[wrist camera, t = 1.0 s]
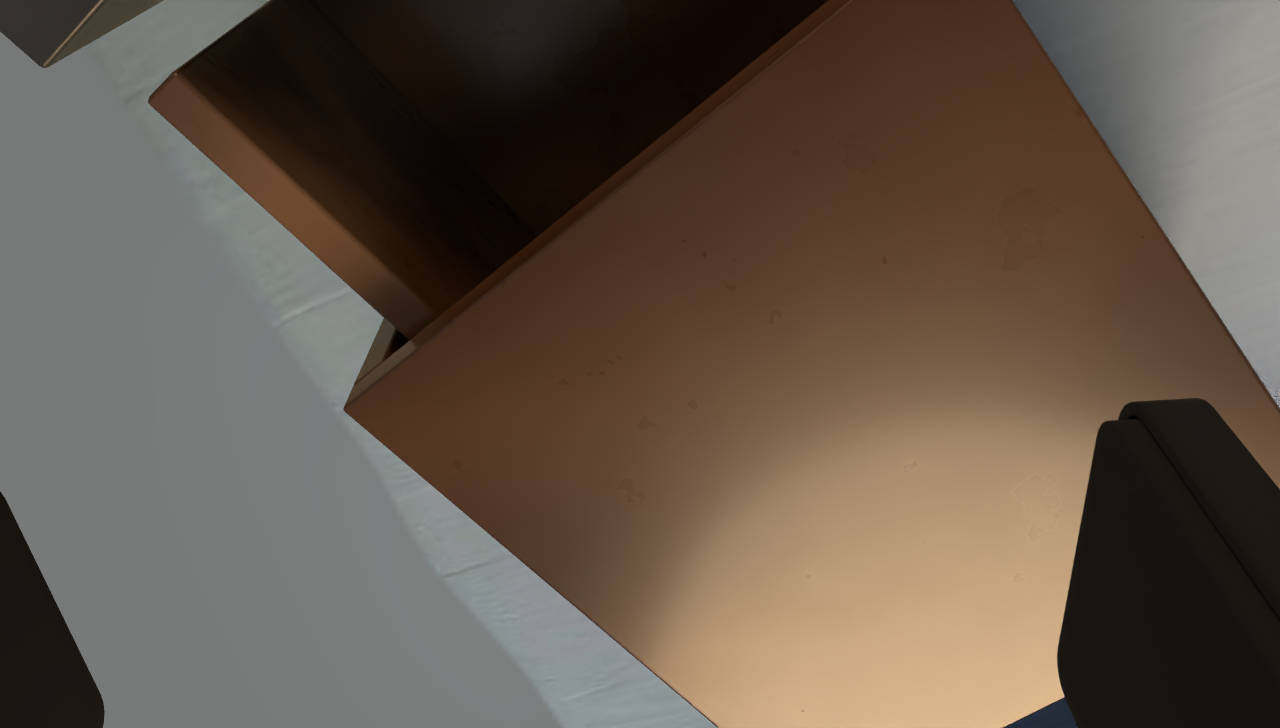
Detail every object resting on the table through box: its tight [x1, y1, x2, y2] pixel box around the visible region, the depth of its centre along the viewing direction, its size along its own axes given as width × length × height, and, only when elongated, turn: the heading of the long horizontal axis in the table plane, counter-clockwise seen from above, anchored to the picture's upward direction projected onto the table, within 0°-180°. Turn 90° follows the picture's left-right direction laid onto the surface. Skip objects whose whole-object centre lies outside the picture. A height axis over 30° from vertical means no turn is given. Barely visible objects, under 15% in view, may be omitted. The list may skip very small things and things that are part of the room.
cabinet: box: [343, 0, 1280, 728], centre depth 24 cm, size 15×13×10 cm
